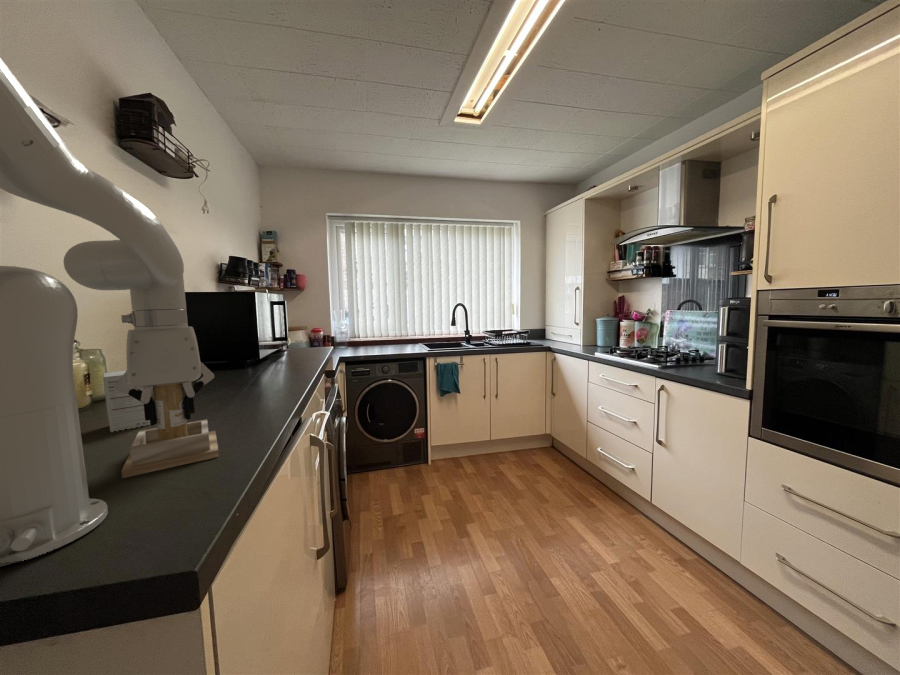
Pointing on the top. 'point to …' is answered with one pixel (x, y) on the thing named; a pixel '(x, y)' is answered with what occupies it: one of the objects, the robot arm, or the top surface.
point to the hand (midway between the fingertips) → (171, 419)
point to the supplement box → (122, 405)
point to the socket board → (170, 449)
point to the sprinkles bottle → (170, 411)
